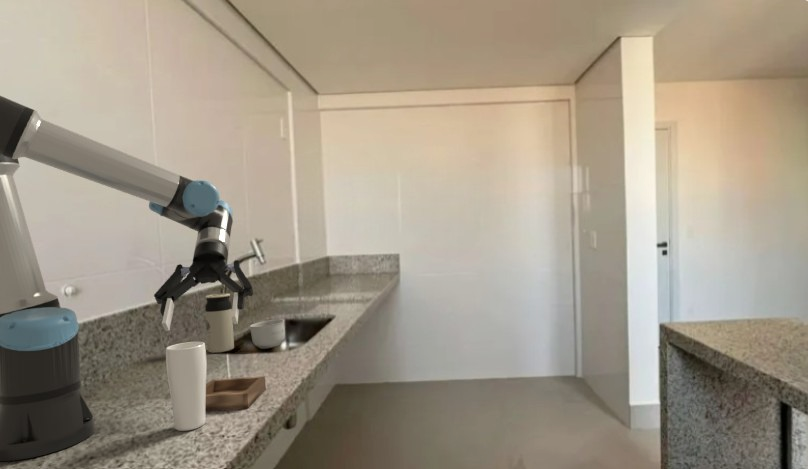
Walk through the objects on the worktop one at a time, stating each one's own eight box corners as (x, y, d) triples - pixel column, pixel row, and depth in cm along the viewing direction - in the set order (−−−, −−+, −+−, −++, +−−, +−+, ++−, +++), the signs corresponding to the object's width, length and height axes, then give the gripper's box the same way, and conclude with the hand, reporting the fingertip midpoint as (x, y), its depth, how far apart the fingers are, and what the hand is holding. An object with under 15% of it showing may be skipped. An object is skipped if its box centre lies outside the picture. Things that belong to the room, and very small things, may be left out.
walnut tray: (188, 412, 95) (188, 397, 95) (213, 393, 107) (212, 379, 107) (248, 408, 95) (247, 393, 95) (265, 389, 107) (264, 376, 107)
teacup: (277, 350, 148) (275, 324, 148) (245, 351, 150) (243, 325, 150) (294, 340, 162) (293, 317, 162) (264, 341, 163) (263, 318, 163)
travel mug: (234, 346, 158) (230, 292, 158) (234, 351, 150) (230, 294, 151) (208, 349, 155) (205, 295, 155) (207, 354, 148) (203, 297, 148)
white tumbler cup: (195, 434, 83) (190, 349, 83) (161, 433, 85) (156, 350, 85) (217, 419, 90) (212, 340, 90) (186, 419, 91) (181, 341, 91)
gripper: (267, 257, 118) (264, 328, 103) (160, 265, 113) (141, 340, 99) (263, 236, 113) (259, 307, 98) (151, 243, 108) (129, 319, 93)
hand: (200, 324), depth 98 cm, fingers open, 13 cm apart
